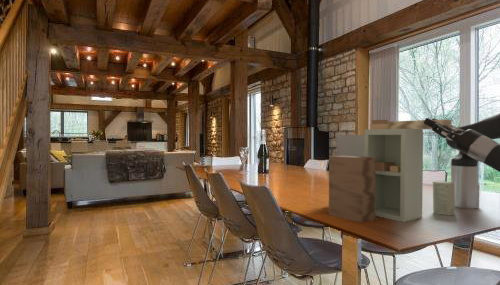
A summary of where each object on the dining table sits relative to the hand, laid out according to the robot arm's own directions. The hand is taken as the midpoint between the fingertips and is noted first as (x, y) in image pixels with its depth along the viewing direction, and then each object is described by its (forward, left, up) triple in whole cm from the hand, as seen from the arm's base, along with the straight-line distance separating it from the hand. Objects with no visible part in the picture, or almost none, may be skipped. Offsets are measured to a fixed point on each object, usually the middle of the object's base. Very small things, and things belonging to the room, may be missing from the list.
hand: (428, 120), depth 113 cm
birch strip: (+3, -6, -3) cm, 7 cm away
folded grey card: (+15, -27, -35) cm, 47 cm away
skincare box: (-13, -10, -35) cm, 39 cm away
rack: (+8, -9, -35) cm, 37 cm away
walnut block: (+25, -7, -35) cm, 43 cm away
